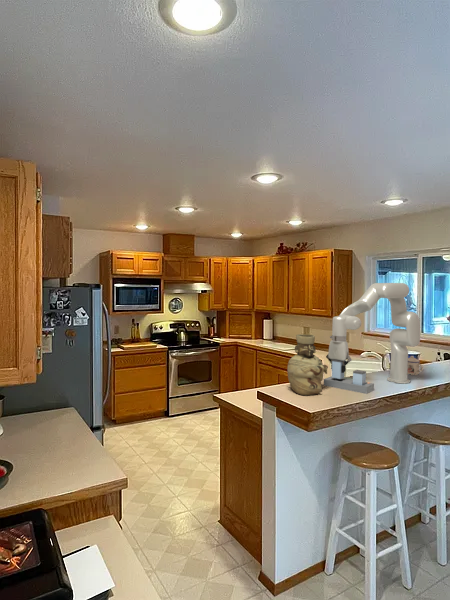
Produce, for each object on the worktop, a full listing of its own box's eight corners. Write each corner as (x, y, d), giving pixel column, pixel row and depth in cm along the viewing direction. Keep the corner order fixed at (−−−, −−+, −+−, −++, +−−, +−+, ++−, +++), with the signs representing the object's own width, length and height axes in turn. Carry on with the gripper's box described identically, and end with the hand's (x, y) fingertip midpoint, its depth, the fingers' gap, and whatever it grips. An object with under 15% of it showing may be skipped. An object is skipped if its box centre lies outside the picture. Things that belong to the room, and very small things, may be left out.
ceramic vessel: (327, 398, 199) (329, 338, 198) (285, 394, 205) (286, 336, 203) (327, 388, 218) (328, 334, 217) (288, 385, 223) (289, 332, 222)
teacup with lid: (401, 373, 260) (401, 355, 260) (409, 371, 265) (409, 354, 265) (418, 376, 250) (419, 358, 250) (426, 375, 255) (427, 357, 255)
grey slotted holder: (331, 384, 226) (332, 375, 226) (373, 392, 211) (374, 383, 210) (323, 388, 219) (323, 378, 219) (366, 396, 203) (366, 386, 203)
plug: (335, 375, 222) (336, 358, 222) (344, 377, 219) (344, 359, 218) (331, 377, 218) (332, 359, 218) (340, 378, 215) (340, 360, 215)
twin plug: (356, 388, 214) (356, 369, 214) (365, 389, 211) (366, 371, 211) (352, 389, 211) (353, 371, 210) (361, 391, 207) (362, 372, 207)
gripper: (321, 337, 220) (320, 370, 221) (351, 341, 209) (350, 375, 210) (328, 336, 226) (327, 368, 227) (357, 339, 215) (355, 373, 216)
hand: (338, 371), depth 218 cm, fingers closed on plug, 5 cm apart
